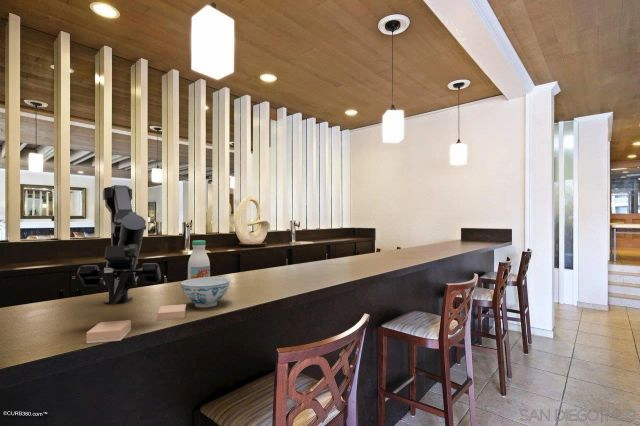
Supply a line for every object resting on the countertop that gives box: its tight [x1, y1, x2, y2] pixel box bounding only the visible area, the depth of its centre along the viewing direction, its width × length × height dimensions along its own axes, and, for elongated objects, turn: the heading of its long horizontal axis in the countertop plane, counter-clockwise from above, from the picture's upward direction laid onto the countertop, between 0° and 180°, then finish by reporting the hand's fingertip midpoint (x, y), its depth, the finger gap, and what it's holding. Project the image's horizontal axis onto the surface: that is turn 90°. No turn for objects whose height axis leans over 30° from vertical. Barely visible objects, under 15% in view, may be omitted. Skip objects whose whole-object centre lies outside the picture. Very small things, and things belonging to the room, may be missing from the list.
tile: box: [85, 319, 132, 344], centre depth 82 cm, size 2×7×8 cm
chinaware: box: [180, 276, 231, 308], centre depth 111 cm, size 15×15×8 cm
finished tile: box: [157, 303, 187, 321], centre depth 100 cm, size 8×7×2 cm
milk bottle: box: [187, 239, 211, 280], centre depth 126 cm, size 8×8×20 cm
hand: (113, 302), depth 84 cm, fingers closed
